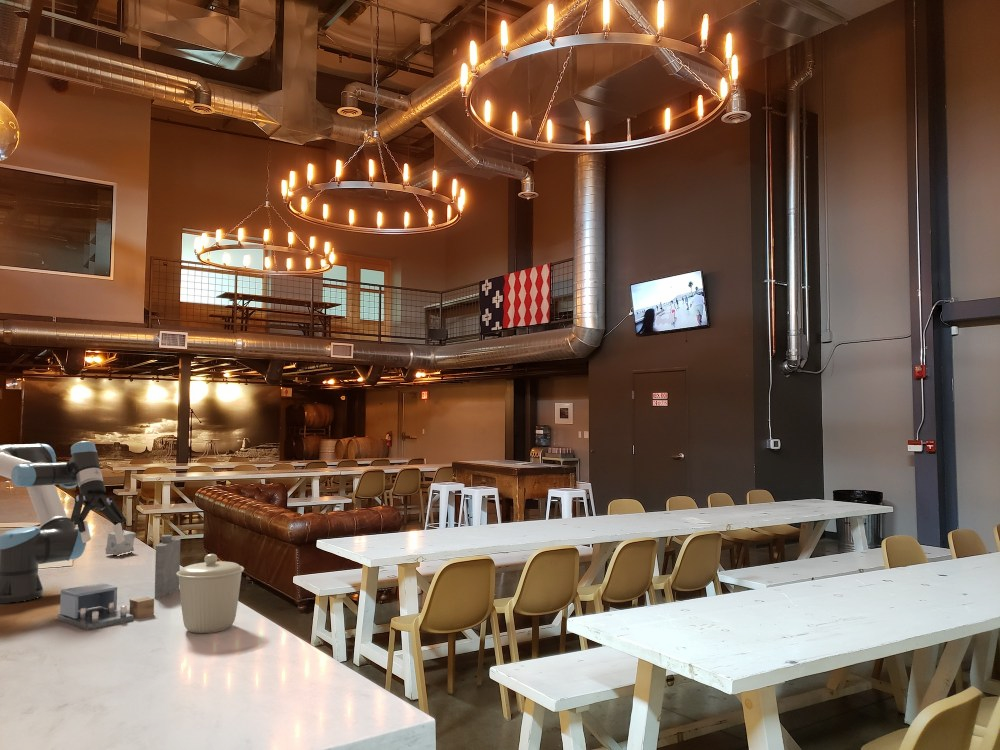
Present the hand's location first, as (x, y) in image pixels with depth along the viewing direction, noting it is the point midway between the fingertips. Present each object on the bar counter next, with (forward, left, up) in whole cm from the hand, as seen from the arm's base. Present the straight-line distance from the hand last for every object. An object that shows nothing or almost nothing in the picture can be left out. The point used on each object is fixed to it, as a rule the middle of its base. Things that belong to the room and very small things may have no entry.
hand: (104, 541), depth 239 cm
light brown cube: (+25, +1, -20) cm, 32 cm away
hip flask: (+2, +21, -20) cm, 29 cm away
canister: (+56, +5, -20) cm, 59 cm away
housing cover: (+14, -10, -18) cm, 25 cm away
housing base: (+19, -10, -20) cm, 29 cm away
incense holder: (-90, +49, -20) cm, 105 cm away
